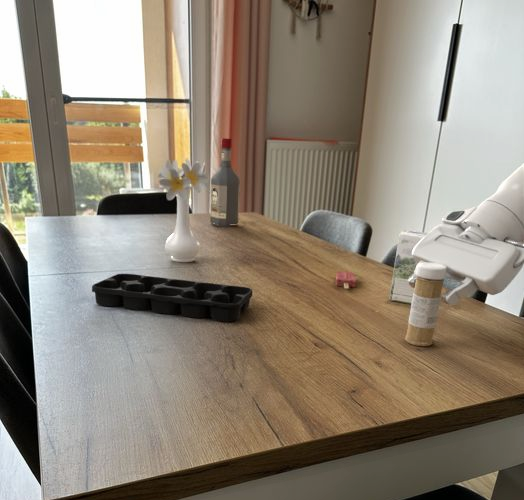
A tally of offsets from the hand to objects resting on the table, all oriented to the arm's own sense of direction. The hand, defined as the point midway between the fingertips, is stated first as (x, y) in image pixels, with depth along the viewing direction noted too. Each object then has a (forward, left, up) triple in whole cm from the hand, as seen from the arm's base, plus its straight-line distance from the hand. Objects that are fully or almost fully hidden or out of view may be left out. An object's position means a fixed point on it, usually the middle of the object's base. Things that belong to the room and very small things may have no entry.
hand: (427, 293), depth 84 cm
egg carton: (+42, -18, -9) cm, 47 cm away
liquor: (+28, -119, -9) cm, 122 cm away
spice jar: (0, 0, -9) cm, 9 cm away
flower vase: (+41, -57, -9) cm, 71 cm away
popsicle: (+3, -37, -9) cm, 38 cm away
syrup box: (-7, -25, -9) cm, 27 cm away
